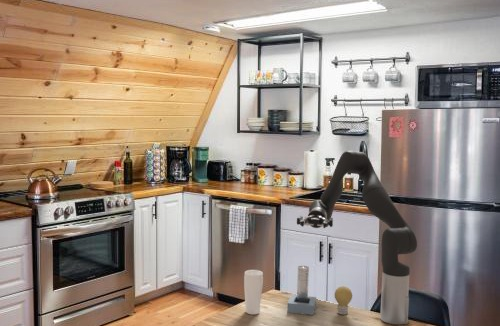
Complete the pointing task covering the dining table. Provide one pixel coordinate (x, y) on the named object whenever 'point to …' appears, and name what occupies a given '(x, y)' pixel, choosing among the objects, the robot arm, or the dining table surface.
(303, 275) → the steel pin
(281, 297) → the dining table surface
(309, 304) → the blue square frame
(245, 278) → the drinking glass
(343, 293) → the light bulb
